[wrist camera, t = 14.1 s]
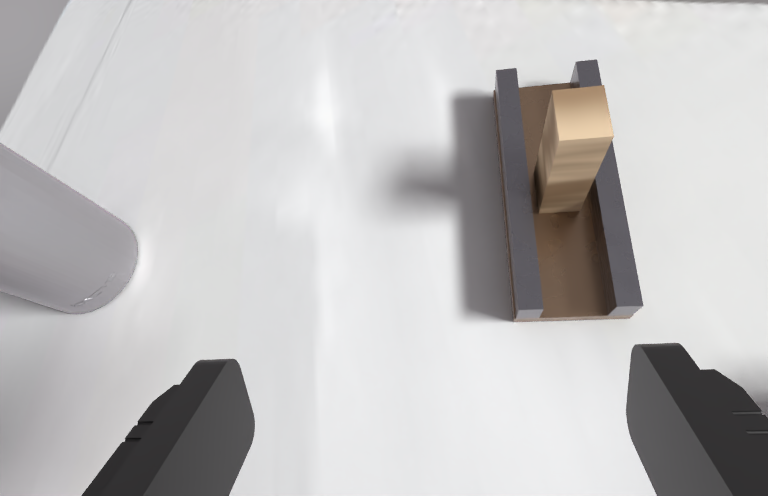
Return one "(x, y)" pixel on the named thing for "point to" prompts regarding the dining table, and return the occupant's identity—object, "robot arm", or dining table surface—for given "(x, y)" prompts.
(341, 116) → the dining table surface
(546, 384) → the dining table surface
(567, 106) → the light brown wooden block
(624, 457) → the dining table surface
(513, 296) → the door track
